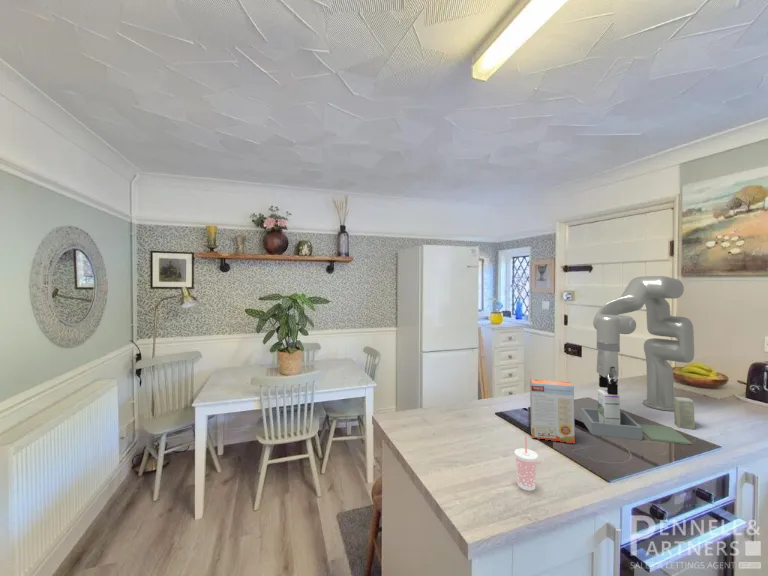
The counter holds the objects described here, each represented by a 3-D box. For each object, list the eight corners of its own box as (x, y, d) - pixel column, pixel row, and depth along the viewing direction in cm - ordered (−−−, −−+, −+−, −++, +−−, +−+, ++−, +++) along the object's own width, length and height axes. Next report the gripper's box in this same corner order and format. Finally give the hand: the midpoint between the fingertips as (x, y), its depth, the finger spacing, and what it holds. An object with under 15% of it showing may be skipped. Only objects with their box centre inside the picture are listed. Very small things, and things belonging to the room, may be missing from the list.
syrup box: (621, 432, 124) (620, 394, 124) (604, 431, 125) (603, 393, 125) (613, 426, 129) (613, 389, 129) (597, 424, 130) (597, 389, 131)
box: (690, 425, 129) (690, 398, 129) (695, 429, 125) (694, 401, 125) (673, 423, 132) (673, 396, 132) (677, 427, 128) (677, 399, 128)
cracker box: (571, 437, 120) (570, 381, 120) (575, 444, 114) (574, 385, 114) (530, 432, 124) (529, 378, 124) (531, 439, 119) (531, 382, 119)
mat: (634, 424, 130) (634, 423, 130) (671, 428, 127) (671, 427, 127) (651, 440, 117) (651, 438, 117) (692, 445, 113) (692, 443, 113)
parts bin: (580, 418, 137) (580, 407, 137) (624, 422, 132) (624, 411, 132) (591, 434, 122) (591, 422, 122) (642, 440, 117) (642, 427, 117)
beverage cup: (513, 477, 94) (513, 429, 94) (536, 481, 93) (536, 432, 93) (515, 490, 88) (515, 439, 89) (540, 494, 87) (539, 442, 87)
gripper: (590, 343, 137) (590, 384, 136) (604, 350, 120) (604, 396, 120) (611, 344, 134) (611, 385, 134) (628, 351, 118) (628, 398, 118)
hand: (608, 390), depth 127 cm, fingers open, 9 cm apart
